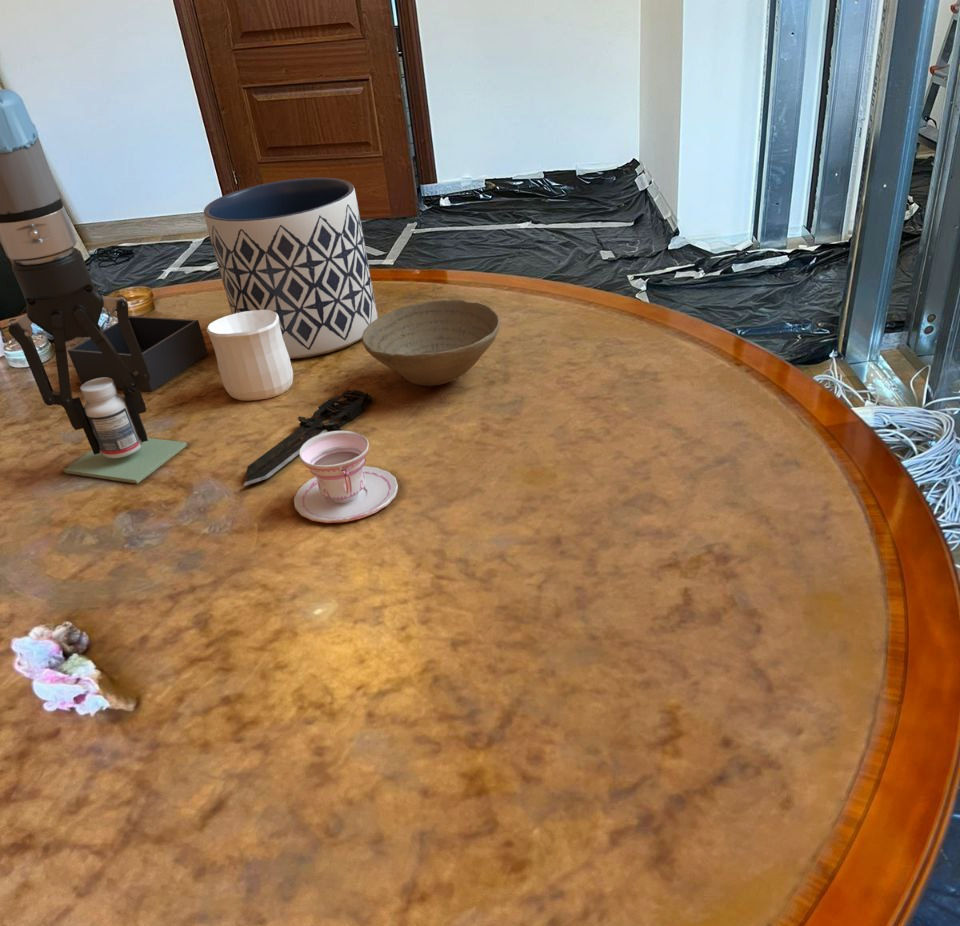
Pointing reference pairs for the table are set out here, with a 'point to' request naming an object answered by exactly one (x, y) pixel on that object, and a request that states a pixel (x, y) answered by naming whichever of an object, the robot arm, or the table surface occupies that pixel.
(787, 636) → the table surface
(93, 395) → the pill bottle
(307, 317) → the planter
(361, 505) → the teacup
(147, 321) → the box
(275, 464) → the knife
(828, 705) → the table surface
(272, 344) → the cup
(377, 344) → the bowl
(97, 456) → the mat
